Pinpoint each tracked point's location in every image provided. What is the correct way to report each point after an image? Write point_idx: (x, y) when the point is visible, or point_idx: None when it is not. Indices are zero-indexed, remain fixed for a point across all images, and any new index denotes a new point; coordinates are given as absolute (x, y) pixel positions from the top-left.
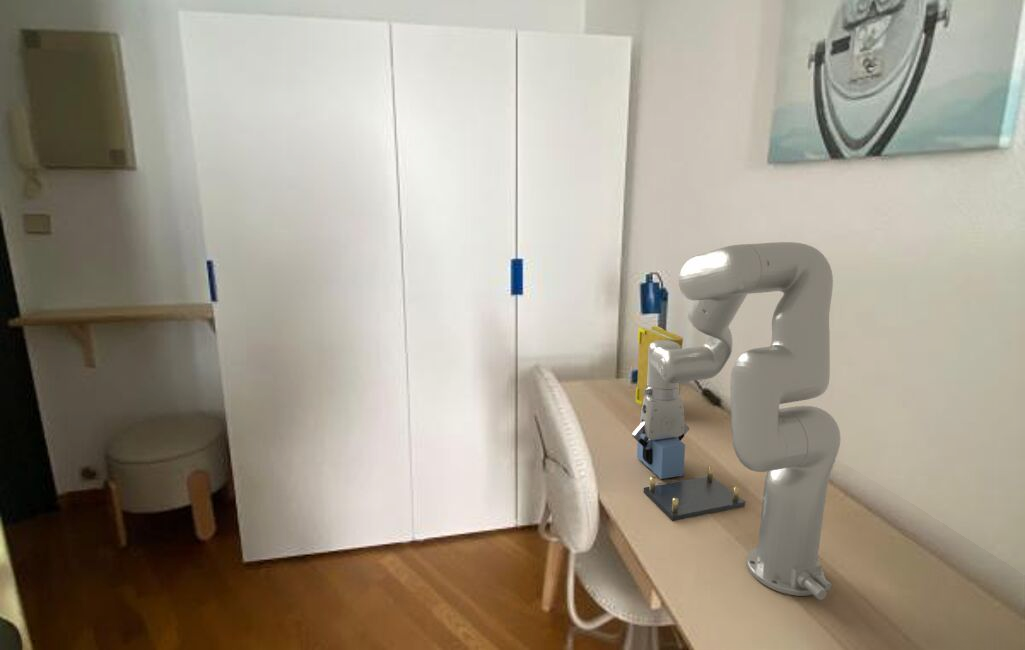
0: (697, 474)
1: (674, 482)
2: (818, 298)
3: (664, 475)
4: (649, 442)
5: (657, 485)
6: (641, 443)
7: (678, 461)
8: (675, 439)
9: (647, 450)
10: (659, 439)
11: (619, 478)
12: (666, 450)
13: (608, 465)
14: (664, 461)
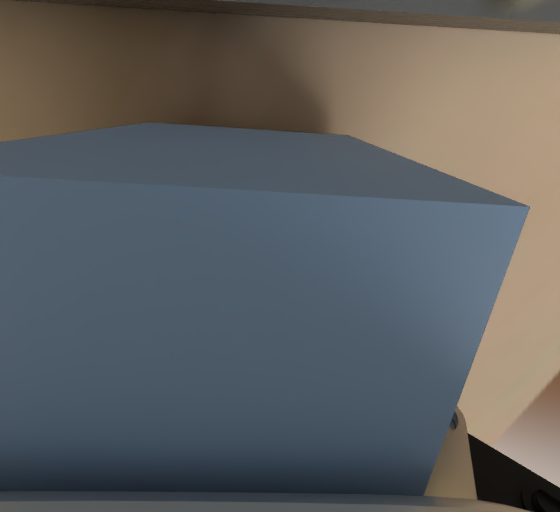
0: (21, 130)
1: (306, 2)
2: None
3: (324, 135)
4: (455, 478)
5: (478, 13)
6: (548, 486)
7: (165, 134)
8: (7, 435)
9: None
10: (357, 496)
11: (554, 265)
12: (388, 177)
13: (494, 398)
14: (363, 150)
